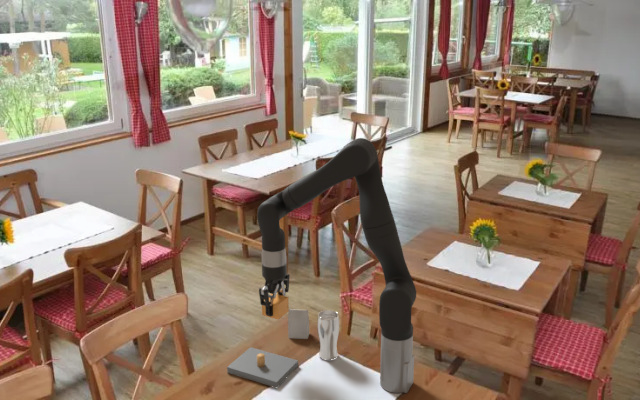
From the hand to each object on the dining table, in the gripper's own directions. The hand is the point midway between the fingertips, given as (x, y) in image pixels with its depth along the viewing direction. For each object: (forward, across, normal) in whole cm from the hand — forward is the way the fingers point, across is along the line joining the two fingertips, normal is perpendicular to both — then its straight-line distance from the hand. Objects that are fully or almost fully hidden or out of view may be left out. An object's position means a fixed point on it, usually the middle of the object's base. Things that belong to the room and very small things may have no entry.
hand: (275, 310), depth 185 cm
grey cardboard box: (+18, +17, +2) cm, 25 cm away
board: (+18, -6, +1) cm, 19 cm away
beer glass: (+18, +10, -13) cm, 25 cm away
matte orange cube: (+1, 0, 0) cm, 1 cm away
